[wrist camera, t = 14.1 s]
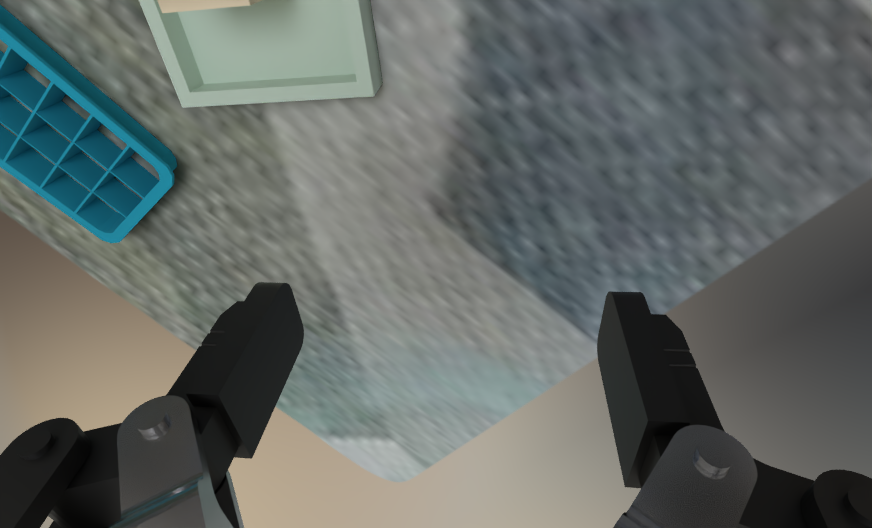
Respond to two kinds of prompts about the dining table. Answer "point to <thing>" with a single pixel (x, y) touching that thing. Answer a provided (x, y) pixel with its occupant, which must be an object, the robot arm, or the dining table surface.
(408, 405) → the dining table surface
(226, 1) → the birch block
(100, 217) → the ice cube tray
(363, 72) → the tray
